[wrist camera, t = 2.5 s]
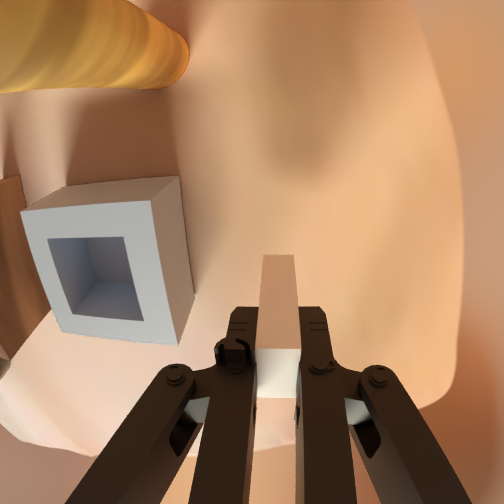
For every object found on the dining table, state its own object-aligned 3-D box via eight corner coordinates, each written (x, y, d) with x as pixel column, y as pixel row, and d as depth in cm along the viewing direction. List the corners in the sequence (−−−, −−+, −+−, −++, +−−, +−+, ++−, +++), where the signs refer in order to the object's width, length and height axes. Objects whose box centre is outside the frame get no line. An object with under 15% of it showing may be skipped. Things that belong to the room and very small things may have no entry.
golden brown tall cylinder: (128, 94, 16) (-49, 115, 5) (126, 36, 14) (-40, -3, 3) (190, 84, 16) (41, 67, 4) (188, 24, 14) (57, -72, 2)
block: (91, 293, 23) (62, 332, 18) (63, 186, 19) (19, 211, 14) (194, 298, 22) (178, 345, 18) (179, 175, 18) (150, 200, 14)
